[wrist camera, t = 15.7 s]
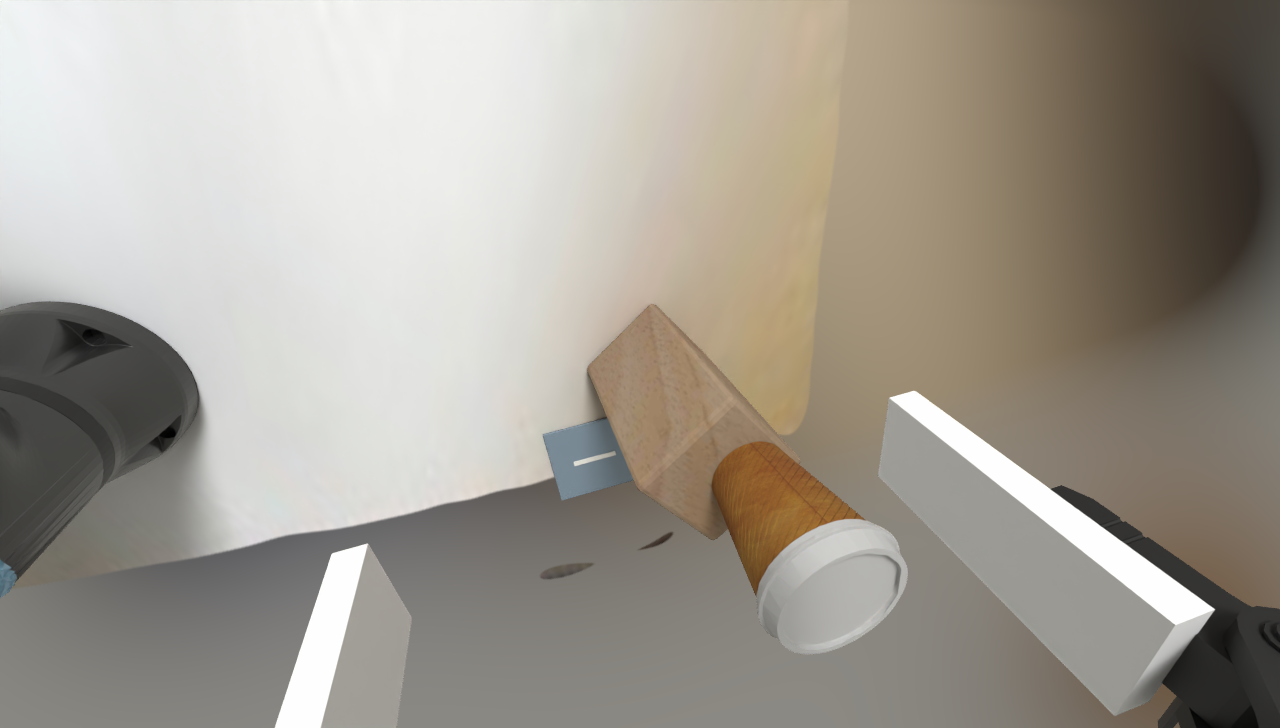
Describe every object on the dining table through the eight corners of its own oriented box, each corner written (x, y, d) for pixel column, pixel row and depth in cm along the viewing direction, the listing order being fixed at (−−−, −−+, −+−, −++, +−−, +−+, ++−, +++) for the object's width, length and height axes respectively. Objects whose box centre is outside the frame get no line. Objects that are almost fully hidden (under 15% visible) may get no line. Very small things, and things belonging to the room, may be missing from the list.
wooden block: (644, 416, 60) (714, 544, 43) (584, 367, 55) (635, 490, 38) (707, 356, 58) (805, 463, 41) (651, 300, 53) (736, 396, 36)
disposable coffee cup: (771, 526, 44) (863, 657, 33) (673, 516, 40) (742, 661, 30) (824, 432, 40) (943, 546, 30) (722, 412, 37) (819, 535, 26)
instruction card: (561, 498, 63) (561, 501, 62) (542, 434, 58) (543, 436, 57) (700, 459, 66) (701, 461, 65) (694, 394, 60) (695, 396, 60)
